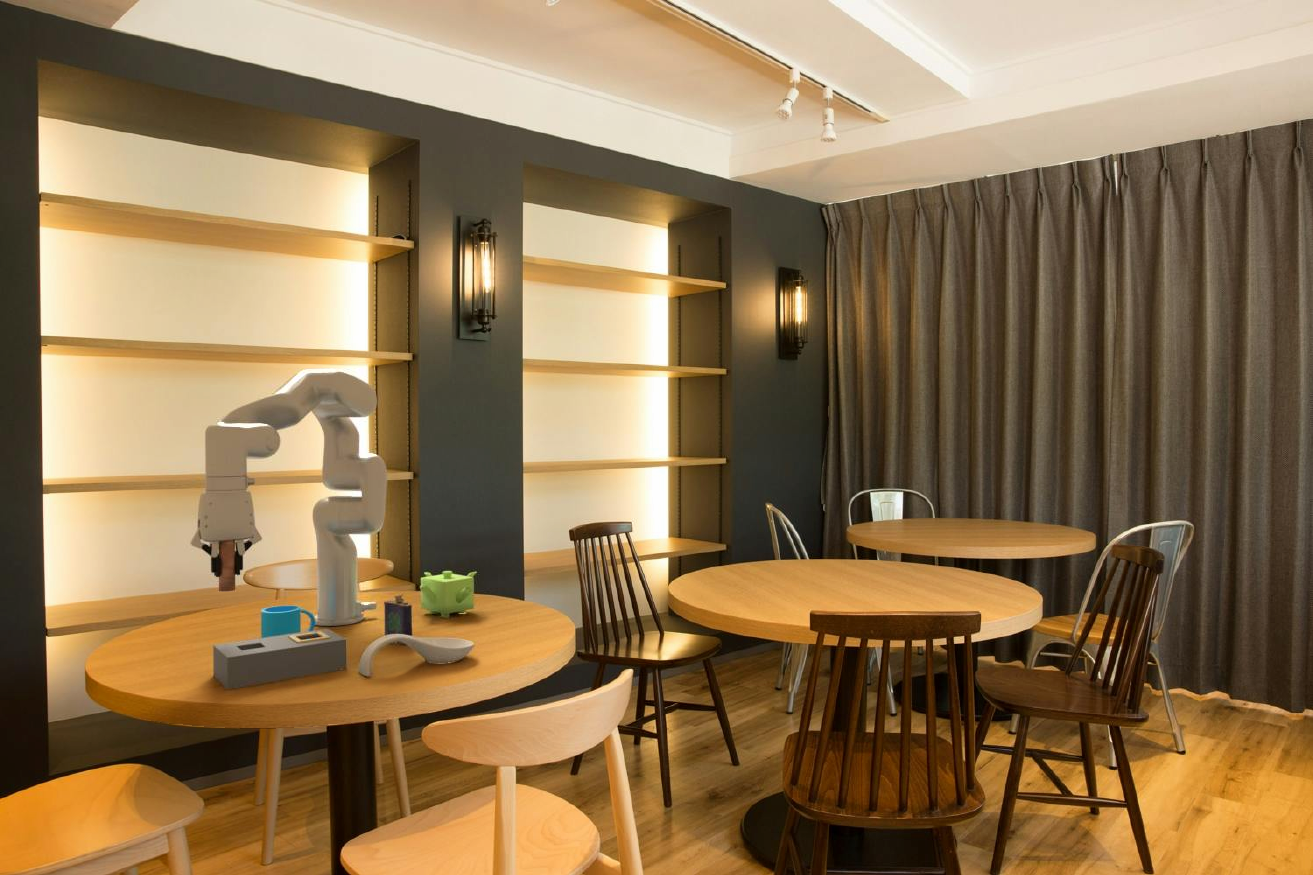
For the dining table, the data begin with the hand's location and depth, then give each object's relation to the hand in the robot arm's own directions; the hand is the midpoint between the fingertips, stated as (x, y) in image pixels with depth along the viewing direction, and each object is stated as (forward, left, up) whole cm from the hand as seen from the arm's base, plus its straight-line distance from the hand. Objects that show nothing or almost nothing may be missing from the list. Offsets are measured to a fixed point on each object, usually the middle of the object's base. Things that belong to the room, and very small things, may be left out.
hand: (227, 574), depth 173 cm
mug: (-16, -13, -19) cm, 28 cm away
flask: (-36, +1, -19) cm, 40 cm away
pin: (0, 0, -3) cm, 3 cm away
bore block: (-8, +10, -19) cm, 23 cm away
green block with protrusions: (-58, -20, -19) cm, 64 cm away
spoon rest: (-31, +23, -20) cm, 43 cm away
